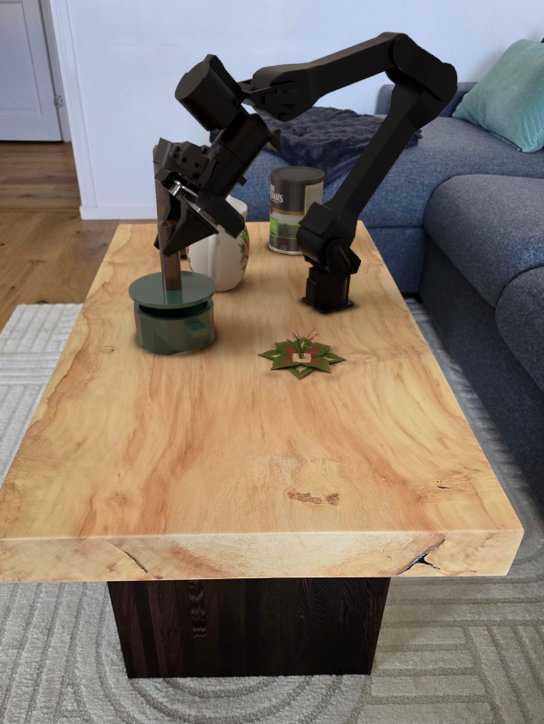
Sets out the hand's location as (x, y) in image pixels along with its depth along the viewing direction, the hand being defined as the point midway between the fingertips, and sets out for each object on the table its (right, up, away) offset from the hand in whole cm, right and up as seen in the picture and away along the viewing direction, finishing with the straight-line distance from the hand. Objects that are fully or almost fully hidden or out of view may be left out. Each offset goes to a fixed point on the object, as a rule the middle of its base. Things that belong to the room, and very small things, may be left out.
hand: (160, 251), depth 87 cm
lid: (+1, -4, +4) cm, 6 cm away
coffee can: (+22, +14, +41) cm, 48 cm away
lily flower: (+20, -15, +3) cm, 25 cm away
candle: (-1, +11, +37) cm, 39 cm away
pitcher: (+7, +1, +25) cm, 25 cm away
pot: (+1, -10, +9) cm, 14 cm away
